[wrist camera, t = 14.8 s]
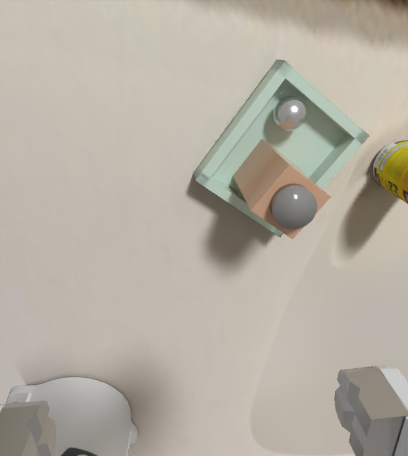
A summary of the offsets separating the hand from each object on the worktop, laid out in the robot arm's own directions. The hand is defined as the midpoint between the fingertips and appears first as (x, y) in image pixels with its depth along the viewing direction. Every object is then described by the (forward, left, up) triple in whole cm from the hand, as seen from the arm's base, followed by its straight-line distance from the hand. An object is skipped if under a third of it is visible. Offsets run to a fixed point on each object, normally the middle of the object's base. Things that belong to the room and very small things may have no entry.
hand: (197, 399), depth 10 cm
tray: (+5, -8, -29) cm, 31 cm away
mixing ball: (+9, -6, -28) cm, 31 cm away
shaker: (+3, -9, -28) cm, 30 cm away
